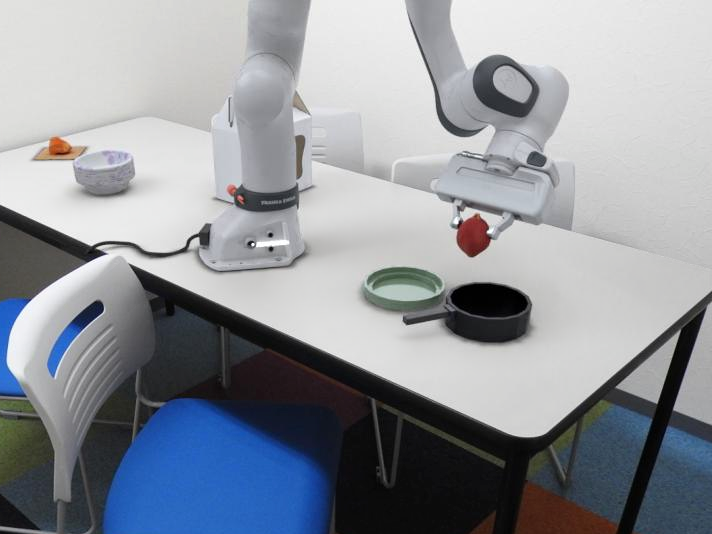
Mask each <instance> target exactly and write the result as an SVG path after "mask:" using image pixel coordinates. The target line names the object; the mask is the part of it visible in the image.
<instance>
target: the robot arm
mask: <svg viewBox="0 0 712 534" xmlns="http://www.w3.org/2000/svg"><path fill="white" fill-rule="evenodd" d="M452 2H453V0H404V4H405V9H406V14H407V17H408V21H409V24H410V27H411V31H412V33H413V37H414V38H415V42H416V45H417V47H418V49H419V52H420V55H421V58H422V60H423V63H424V65H425V69H426V71H427V73H428V77H429V79H430V81H431V85H432V88H433V92H434V103H435V112H436V115H437V118H438V121H439V123H440V125H441V127H442V128H444V129H445V130H446V131H447V132H448V133H449V134H451V135H453V136H454V137H455V136H456V137H458V138H471V137H474V136H476V135H478V134H479V133H481V132H482V131H484V130H485V129H486V128H487V127H489V126H490V125H491V126H492V127H494V130H495V131H494V134H493V135H492V138H491V140H490V142H489V143H488V145H487V147H486V149H485V151H484V152H483V154H482V153H474V152H471V151H468V150H463V151H462V152H458V153H455V154H453V155H452V157H451V158H450V159H449V161H448V163H447V166H445V168H444V169H443V171H442V173H440V175H439V177H438V179H437V180H436V182H435V184H434V192H435V194H436V196H437V197H438V199H439V200H440V201H441V202H445V203H449V204H452V215H453V217H452V218H451V220H450V222H449V227H450V228H451V229H453V230H457V231H458V229H459V227H460V225H461V224H462V223H463V222H464V221H465V220H464V219H463V218H462V217H461V213H463V212H464V211H466V210H465V209H466V208H467V209H472V210H476V211H480V212H483V213H486V214H491V215H494V216H498V217H501V218H502V219H501V220H500V221H499V222H498V223H497V224H494V225H492V224H490V225H489V230H488V231H487V233H486V236H487V237H488V238H489V239H491V240H493V241H497V240H498V238H499V237H500V235H501V233H503V232H504V231H506V230H507V229H509V228H510V227H511V226H513V225H514V222H515V221H518V222H521V223H525V224H529V225H533V226H541V225H542V224H543V223H545V222H546V221H547V220H548V218H549V215H550V214H551V211H552V208H553V206H554V204H555V200H556V194H557V193H556V190H555V189H557V187H558V186H559V185H560V183H561V177H560V173H559V169H558V167H557V165H556V163H555V161H554V159H553V158H552V157H550V156H548V155H547V154H545V153H544V151H545V147H546V144H547V142H548V140H550V139H551V137H552V136H553V135H554V133H555V131H556V129H557V128H558V126H559V123H560V122H561V119H562V117H563V115H564V112H565V111H566V107H567V104H568V100H569V95H570V86H569V85H570V84H569V82H568V80H567V78H566V76H565V75H564V74H563V73H562V72H561V71H560V70H559V69H557V68H555V67H554V66H551V65H549V64H537V65H530V64H529V65H528V64H524V63H520V62H518V61H516V60H514V59H513V58H511V57H510V56H507V55H504V54H491V55H488V56H486V57H485V58H483V59H481V60H480V61H478V62H477V63H475V64H474V65H473V66H471V67H470V68H469V69H468V68H467V66H466V63H465V61H464V58H463V56H462V53H461V52H462V51H460V47H459V45H458V42H457V39H456V36H455V33H454V30H453V27H452V22H451V9H452V5H453V3H452ZM311 5H312V0H248V5H247V13H246V16H247V22H246V40H245V49H244V50H245V51H244V59H243V62H242V66H241V67H240V69H239V70H238V71H237V72H236V74H235V76H234V79H233V81H232V94H233V101H234V108H235V116H236V123H237V129H238V134H239V140H240V147H241V163H242V184H241V185H240V187H239V188H238V189H237V188H236V187H235V186H234V185H229V186H228V187H227V192H228V193H229V195H230V196H233V197H234V203H232V205H231V206H230V207H228V209H226V210H225V211H224V212H223V213H222V214H221V215H219V216H218V217H217V218H216V219H215V220H214V221H212V223H208V222H205V224H204V225H202V228H201V229H200V230H199V231H198V232H197V233H194V234H192V235H191V236H189V237H188V238H187V239H186V243H185V246H183V247H182V248H179V249H178V250H175V251H171V252H155V251H147V250H145V249H143V248H141V246H139V244H137V243H135V242H130V241H123V240H122V241H121V240H104V241H99V242H97V243H94V244H93V245H91V246H90V247H89V248H88V249H86V251H85V252H84V254H85V255H87V254H90V253H91V252H93V250H95V249H97V248H99V247H102V246H111V245H112V246H129V247H132V248H134V249H136V250H137V251H138V252H139V253H141V254H142V255H145V256H148V257H149V256H150V257H162V258H164V257H165V258H166V257H171V256H175V255H178V254H182V253H184V252H185V251H187V250H188V249H189V248H190V245H191V242H192V241H193V240H195V239H196V238H198V240H199V249H198V256H199V258H200V260H201V262H203V263H204V264H205V265H206V266H207V267H208V268H210V269H212V270H214V271H218V272H225V271H228V272H229V271H238V270H250V269H251V270H253V269H265V268H277V267H278V268H279V267H287V266H290V265H291V264H292V262H293V261H294V260H295V259H296V258H298V257H300V256H301V255H302V254H303V253H304V252H305V251H306V250H305V248H306V246H305V244H304V240H303V237H302V232H301V226H300V221H299V220H300V219H299V212H298V211H299V208H300V191H299V187H298V183H297V182H296V142H295V134H294V122H293V96H294V93H295V91H297V88H298V84H299V78H300V73H301V67H302V61H303V54H304V49H305V48H304V47H305V42H306V41H305V40H306V34H307V28H308V27H307V26H308V21H309V16H310V11H311Z"/></svg>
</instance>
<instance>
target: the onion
mask: <svg viewBox="0 0 712 534" xmlns="http://www.w3.org/2000/svg"><path fill="white" fill-rule="evenodd" d="M463 221H464V222H463V223H462V224H461V225H460V227H459V229H458V230H457V232H456V238H455V239H456V240H455V241H456V244H457V246H458V248H459V250H460V251H461V252H463V253H464V254H465V255H466V256H467V257H469V258H470V259H473V258H475V257H477V256H478V255H479V254H482V253H483V252H485V251H486V250H487V249H488V248H489V246H490V244H491V241H492V239H489V238H488V237H487V236H486V233H487V231H488V230H489V227H490V225H489V223H488V222H487V221H486V220H485V219H483V218H482V217H481V213H480V212H476V213H474V214H473V215H472V216H471V217H469V218H467V219H465V220H463Z"/></svg>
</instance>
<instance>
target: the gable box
mask: <svg viewBox="0 0 712 534" xmlns="http://www.w3.org/2000/svg"><path fill="white" fill-rule="evenodd" d="M312 120H313V117H312V115H311V113H310V110H309V109H308V108H307V106H306V104H305V102H304V101H303V100H302V98H301V96H300V94H299V93H298V91H297V90H296V91H295V93H294V96H293V122H294V134H295V142H296V182H297V183H298V187H299V192H301V191H303V190H306V189H308V188H311V187H312V186H313V161H312V160H313V121H312ZM210 127H211V143H212V156H213V157H212V158H213V169H214V184H215V197H216V199H217V200H221V201H224V202H228V203H230V204H234V197H233V196H230V195H229V193H228V192H227V187H228V186H229V185H234V186H235V187H236V188H237V189H238V188H239V187H240V185H241V184H242V163H241V147H240V140H239V134H238V129H237V123H236V116H235V108H234V101H233V93H232V94H230V95H229V96H228V97H227V99H226V100H225V102H224V104H223V105H222V107H221V109H220V110H219V113H218V115H217V116H216V118H215V120H214V121H213V124H212V125H211V126H210Z"/></svg>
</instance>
